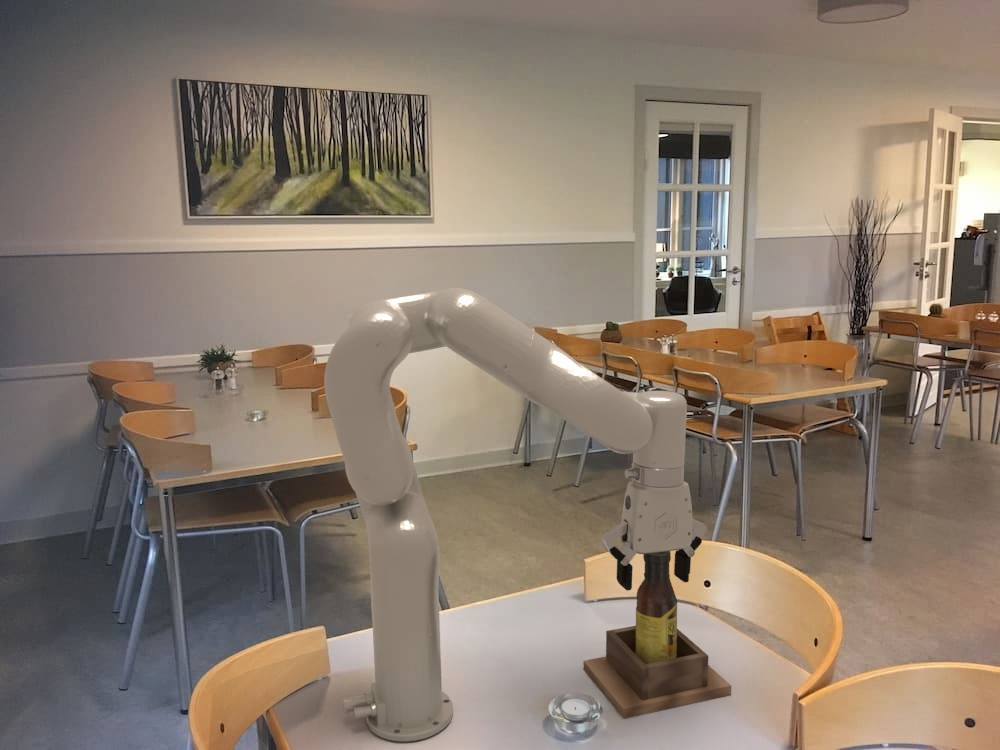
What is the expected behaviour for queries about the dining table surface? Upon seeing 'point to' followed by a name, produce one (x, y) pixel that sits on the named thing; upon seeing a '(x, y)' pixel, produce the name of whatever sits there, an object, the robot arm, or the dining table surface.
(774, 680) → the dining table surface
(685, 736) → the dining table surface
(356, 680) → the dining table surface
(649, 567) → the sauce bottle
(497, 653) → the dining table surface
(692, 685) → the condiment caddy
